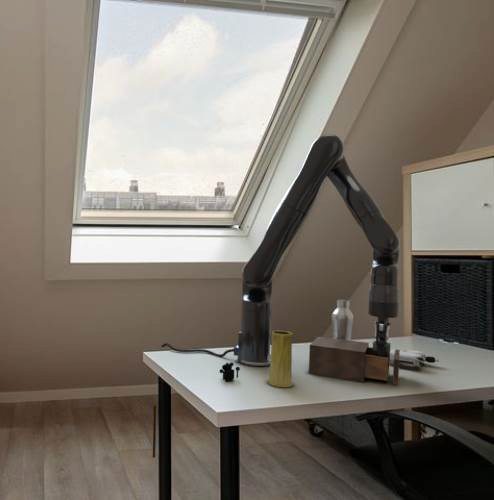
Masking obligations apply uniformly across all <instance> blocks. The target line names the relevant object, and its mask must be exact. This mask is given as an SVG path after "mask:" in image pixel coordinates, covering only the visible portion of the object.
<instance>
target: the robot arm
mask: <svg viewBox="0 0 494 500" xmlns="http://www.w3.org/2000/svg"><path fill="white" fill-rule="evenodd" d="M356 177H357V176H355V174H354V173H353V171H352V170H351V168H350V166H349V164H348V161H347V159H346V157H345V145H344V143H343V141H342V139H341V138H340V137H339V136H338V135H336V134H333V133H327V134H323V135H320V136H319V137H318V138H315V140H314V141H313V143H312V144H311V146H310V149H309V151H308V153H307V155H306V158H305V160H304V162H303V165H302V167H301V168H300V171H299V172H298V175H297V176H296V177H295V179H294V180H293V182H292V183H291V185H290V186H289V188H288V189H287V191H286V192H285V194H284V195H283V198H282V199H281V200H280V202H279V204H278V206H277V207H276V209H275V211H274V212H273V214H272V216H271V219H270V221H269V224H268V225H267V228H266V230H265V233H264V236H263V238H262V240H261V241H260V243H259V245H258V247H257V248H256V250H255V251H254V253H253V254H252V256H251V257H250V258H249V260H248V261H247V262H246V263H245V264H244V266H243V268H242V271H241V277H242V286H241V287H242V289H241V301H240V302H241V303H240V306H241V307H240V331H239V332H238V335H237V336H238V337H237V338H238V339H237V341H238V342H237V345H235V346H234V347H233V348H230V349H227V350H225V351H224V352H223V353H221V354H220V353H219V354H218V353H216V352H214V351H211V350H209V349H204V348H203V349H202V348H197V349H196V348H192V349H182V348H181V349H180V348H177V347H174V346H172V345H171V344H170V343H168V342H165V343H163V344H162V345H161V346H160V347H161V348H164V347H166V346H167V347H169V348H170V349H171V350H172V351H174V352H178V353H207V354H210V355H211V356H214V357H218V358H224V357H225V356H226V355H227V354H229V353H233V356H236V357H237V363H241V364H242V365H246V366H249V367H250V366H251V367H267V366H270V363H271V339H272V307H273V306H272V305H273V277H274V274H275V272H276V270H277V267H278V265H279V263H280V261H281V259H282V257H283V255H284V253H286V250H287V249H288V248H289V246H290V245H291V244H292V242H293V241H294V240H295V238H296V237H297V235H298V234H299V232H300V231H301V229H302V227H303V226H304V224H305V223H306V222H307V219H308V217H309V215H310V214H311V212H312V210H313V208H314V205H315V203H316V200H317V198H318V194H319V193H320V190H321V188H322V185H323V183H324V181H325V179H326V178H327V179H328V180H329V181H330V183H331V184H332V185H333V187H334V188H335V189H336V191H337V193H338V194H339V196H340V197H341V199H342V201H343V203H344V204H345V206H346V208H347V210H348V211H349V213H350V215H351V216H352V218H353V219H354V220H355V222H356V223H357V225H358V226H359V227H360V229H361V230H362V232H363V234H364V236H365V237H366V240H367V241H368V243H369V245H370V246H371V248H372V265H371V268H370V281H369V282H370V283H369V289H368V307H367V308H368V310H367V311H368V315H369V316H371V317H375V318H377V320H375V321H374V338H375V340H374V341H375V343H376V346H377V351H376V356H380V357H385V352H386V346H387V343H388V340H389V338H390V332H391V325H392V324H391V322H390V319H396V318H398V317H399V303H400V301H399V299H400V292H399V291H400V290H399V257H400V247H401V246H400V245H401V241H400V237H399V236H398V234H397V233H396V232H395V230H394V229H393V228H392V226H391V225H390V224H389V222H388V221H387V220H386V218H385V216H384V214H383V212H382V210H381V209H380V207H379V206H378V204H377V203H376V200H374V198H373V197H372V195H371V194H370V193H369V191H368V190H367V189H366V187H364V185H363V184H362V183H361V182H360V181H359V179H358V178H356ZM386 342H387V343H386ZM152 411H153V417H152V418H153V421H152V422H153V423H152V424H153V425H152V429H153V431H152V458H156V443H157V442H156V441H157V439H156V437H157V432H156V431H157V405H153V410H152Z"/></svg>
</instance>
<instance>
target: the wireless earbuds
mask: <svg viewBox="0 0 494 500" xmlns="http://www.w3.org/2000/svg"><path fill="white" fill-rule="evenodd" d="M233 367H234V362H232V361H231V362H226V363H225V364H223V365H222V366H221V368H220V369H219V373H220V374H222V381H225V382H230V381H234V380H235V376H236V378H237V379H238V378H239V371H241V367H239V366H236V367H235V369H233ZM235 371H236V375H235Z"/></svg>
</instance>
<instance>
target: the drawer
mask: <svg viewBox="0 0 494 500" xmlns="http://www.w3.org/2000/svg"><path fill="white" fill-rule="evenodd" d="M394 350H395V354H394V364H393V368H392V369H393V370H392V371H393V372H392V384H396V385H398V384H399V375H400V368H402V369H403V368H404V369H411V370H413V371H415V372H419V371H420V370H421V368H420V367H421V365H420V364H419V362H418V361H414V362H411V361H404V360H399V358H400V351H401V350H400V349H394ZM399 362H401V363H408V364H413V366H406V365H404V364H401V363H400V364H399ZM390 364H391V362H390V353H387V357H380V356H375V351H373V347H372V346H369V347H368V348H367V351H366V353H365V370H364V377H365V378H367V379H373V380H381V381H386V382H387V381H388V380H389V374H390Z"/></svg>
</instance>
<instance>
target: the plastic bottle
mask: <svg viewBox="0 0 494 500" xmlns="http://www.w3.org/2000/svg"><path fill="white" fill-rule="evenodd" d="M350 303H351V302H350V300H348V299H346V300H345V299H337V300H336V306H337V307H336V308H335V309H334V310H333V312H332V313H331V324H332V338H334V339H342V340H350V341H352V330H353V324H354V318H355V317H354V314H353V312H352V310H351V309H350V307H351V305H350Z"/></svg>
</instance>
